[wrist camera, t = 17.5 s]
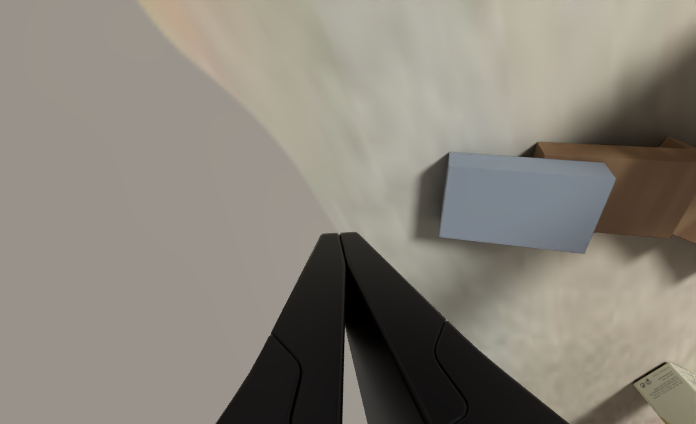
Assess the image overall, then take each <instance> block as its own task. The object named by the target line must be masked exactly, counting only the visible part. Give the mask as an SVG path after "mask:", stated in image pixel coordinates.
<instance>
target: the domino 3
mask: <svg viewBox="0 0 696 424" xmlns="http://www.w3.org/2000/svg"><path fill="white" fill-rule="evenodd" d="M659 147H660V148H681V149H694V150H695V151H696V147H694V146H691V145H689V144H686V143H684V142H681V141H679V140H676V139H674V138H671V137H669V136H668V137H667V138H666V139H665V141H664V142H663V143H662V144H661V145H660V146H659ZM673 235H675V236H678V237H680V238H683V239H685V240H688V241H690V242H693V243H695V244H696V194H695V196H694V198H693V200H692V201H691V203H690V205H689V207H688V208H687V210H686V212H685V214H684V215H683V217H682V219H681V221H680V222H679V224H678V226H677V228H676V229H675V231H674V233H673Z"/></svg>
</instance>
